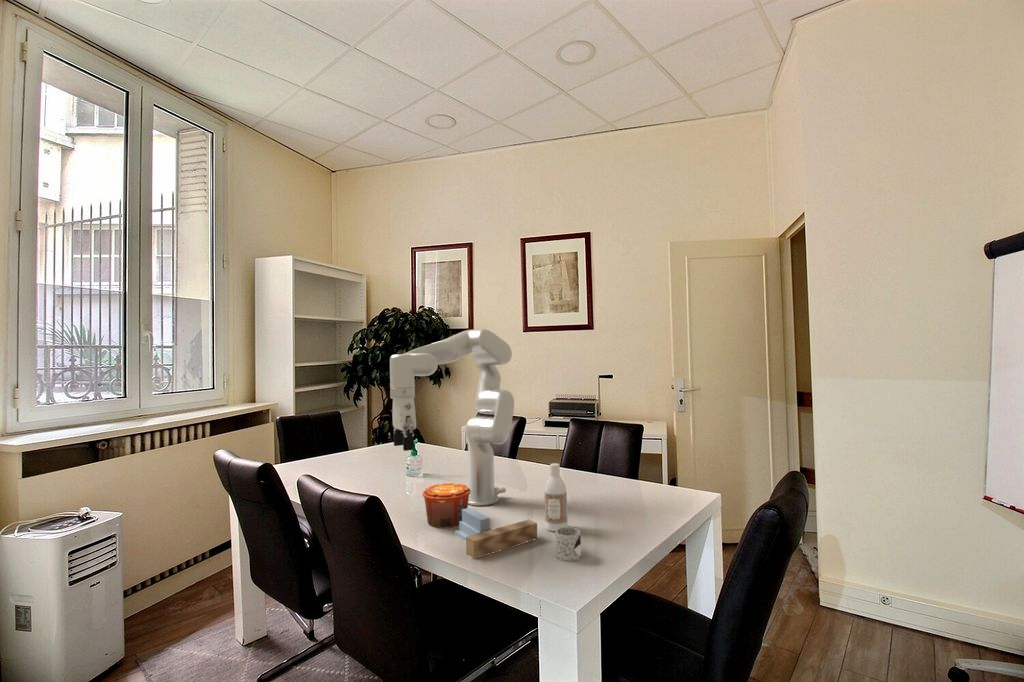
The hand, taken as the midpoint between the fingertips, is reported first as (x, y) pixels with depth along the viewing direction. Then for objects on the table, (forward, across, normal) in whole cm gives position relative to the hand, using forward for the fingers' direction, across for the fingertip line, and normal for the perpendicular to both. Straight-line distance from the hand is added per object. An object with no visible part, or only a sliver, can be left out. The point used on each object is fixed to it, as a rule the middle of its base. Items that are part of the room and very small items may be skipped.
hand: (403, 447), depth 150 cm
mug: (+27, -41, -33) cm, 59 cm away
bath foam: (+27, -23, -41) cm, 55 cm away
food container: (+27, +3, -15) cm, 31 cm away
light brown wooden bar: (+27, -26, -20) cm, 43 cm away
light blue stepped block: (+27, -15, -17) cm, 35 cm away
